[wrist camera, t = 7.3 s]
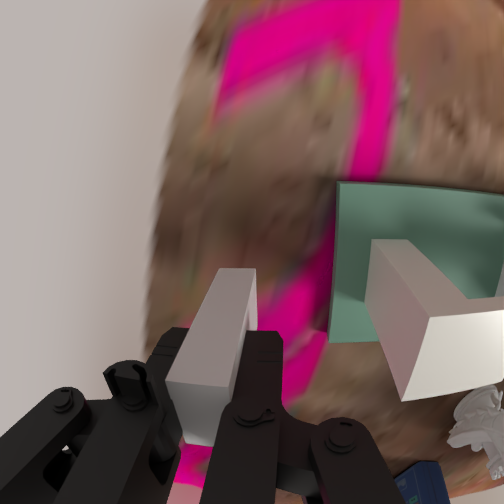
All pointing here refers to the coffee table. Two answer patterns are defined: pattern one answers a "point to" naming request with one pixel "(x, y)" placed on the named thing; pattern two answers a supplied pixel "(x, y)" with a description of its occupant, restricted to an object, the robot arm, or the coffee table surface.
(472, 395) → the figurine
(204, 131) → the coffee table surface
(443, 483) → the electronic device
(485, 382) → the bracket
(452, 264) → the board
